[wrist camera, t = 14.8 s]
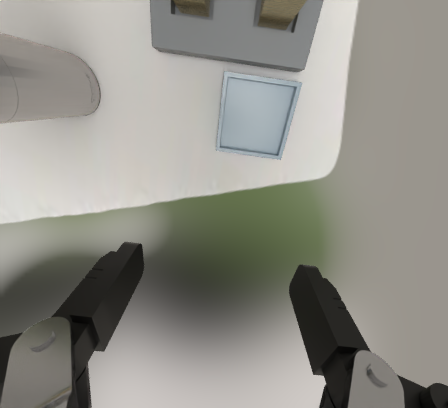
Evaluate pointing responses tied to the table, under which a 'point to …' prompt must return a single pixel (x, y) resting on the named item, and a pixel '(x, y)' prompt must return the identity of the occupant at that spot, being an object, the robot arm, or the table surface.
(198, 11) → the seated billet
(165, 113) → the table surface
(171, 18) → the grey slotted fixture block
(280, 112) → the light blue tray
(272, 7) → the brass billet
